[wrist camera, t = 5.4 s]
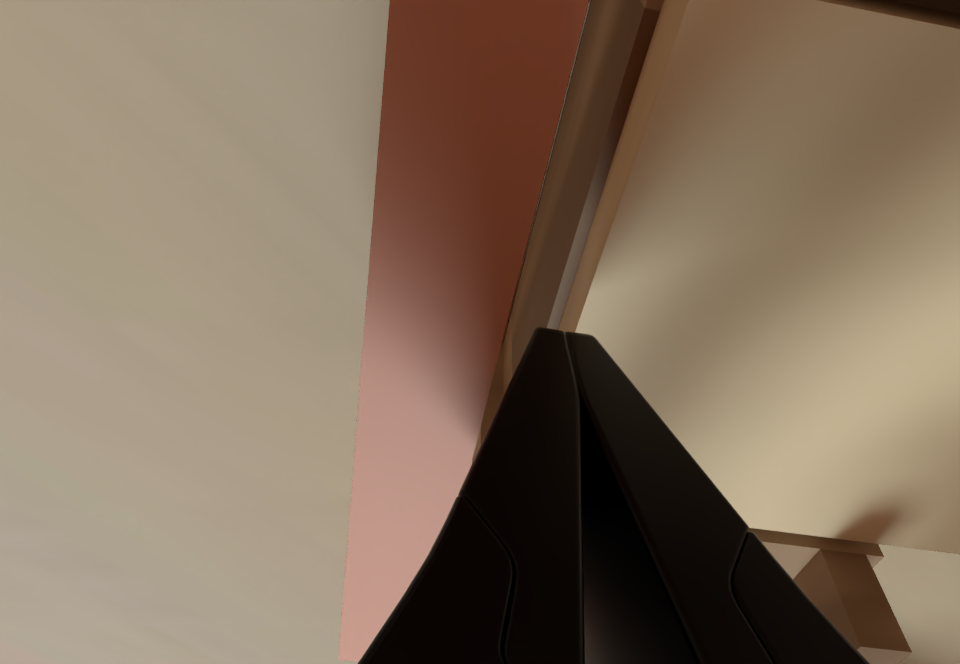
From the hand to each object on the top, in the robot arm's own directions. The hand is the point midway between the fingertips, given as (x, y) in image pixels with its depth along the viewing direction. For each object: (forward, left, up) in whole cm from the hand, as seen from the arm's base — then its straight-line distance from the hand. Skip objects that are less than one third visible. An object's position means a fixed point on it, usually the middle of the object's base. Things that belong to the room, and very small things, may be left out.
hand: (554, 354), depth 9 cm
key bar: (+2, 0, -1) cm, 2 cm away
